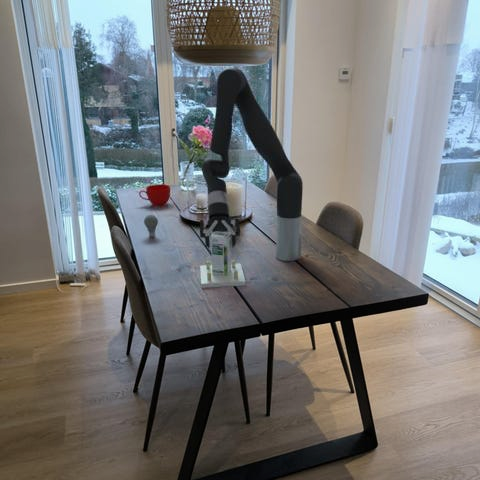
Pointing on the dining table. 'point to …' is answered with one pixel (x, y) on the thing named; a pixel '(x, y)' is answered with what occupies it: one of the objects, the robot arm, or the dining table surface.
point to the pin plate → (221, 276)
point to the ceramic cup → (157, 194)
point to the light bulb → (151, 224)
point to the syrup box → (221, 252)
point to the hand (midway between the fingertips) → (221, 247)
